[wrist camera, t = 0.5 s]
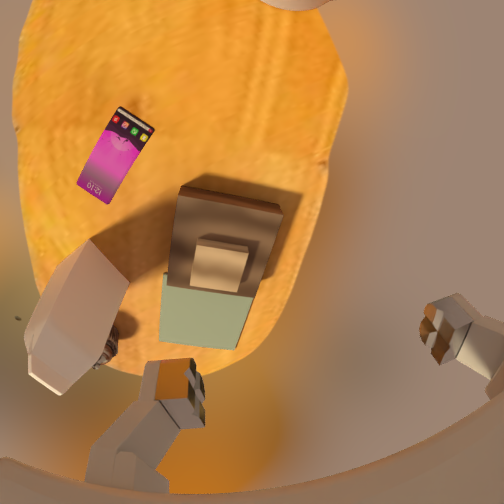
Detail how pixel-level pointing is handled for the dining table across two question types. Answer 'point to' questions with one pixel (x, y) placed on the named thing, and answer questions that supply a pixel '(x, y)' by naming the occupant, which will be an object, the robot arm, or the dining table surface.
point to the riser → (222, 234)
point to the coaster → (218, 265)
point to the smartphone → (114, 155)
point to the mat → (201, 317)
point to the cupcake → (108, 348)
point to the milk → (73, 318)
